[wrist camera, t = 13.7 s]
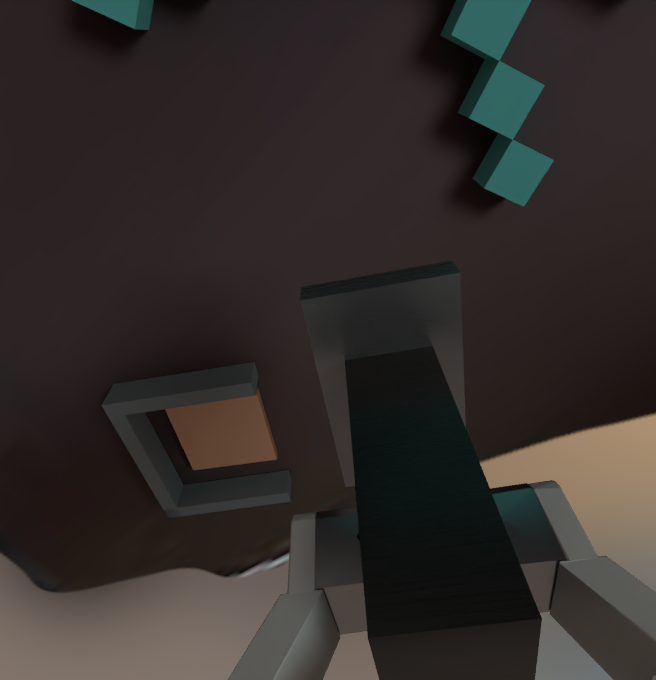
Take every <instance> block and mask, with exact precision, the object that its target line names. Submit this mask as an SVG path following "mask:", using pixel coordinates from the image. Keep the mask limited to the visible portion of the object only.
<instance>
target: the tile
mask: <svg viewBox="0 0 656 680" xmlns="http://www.w3.org/2000/svg"><path fill="white" fill-rule="evenodd" d="M165 411H166V413H167V415H168V417H169V419H170V421H171V424H172V426H173V428H174V430H175V432H176V434H177V436H178V439H179V441H180V443H181V445H182V447H183V449H184V451H185V454H186V456H187V458H188V460H189V462H190V464H191V467H192V469H193V470H201V469H208V468H216V467H223V466H231V465H239V464H246V463H254V462H261V461H269V460H277V450H276V446H275V443H274V440H273V436H272V433H271V430H270V426H269V423H268V420H267V416H266V413H265V410H264V406H263V403H262V400H261V396H260V393H259V390H258V388H257V389H256V394H255V396H249V397H243V398H236V399H230V400H223V401H216V402H210V403H203V404H197V405H190V406H183V407H177V408H170V409H165Z"/></svg>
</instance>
